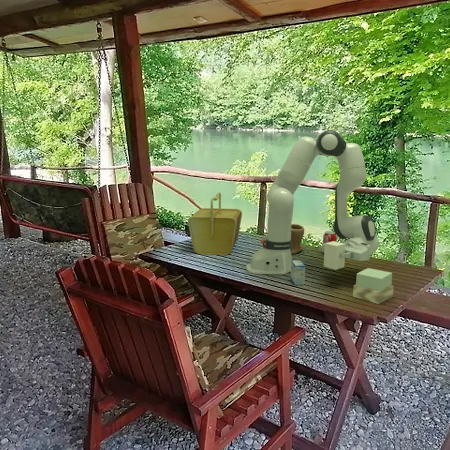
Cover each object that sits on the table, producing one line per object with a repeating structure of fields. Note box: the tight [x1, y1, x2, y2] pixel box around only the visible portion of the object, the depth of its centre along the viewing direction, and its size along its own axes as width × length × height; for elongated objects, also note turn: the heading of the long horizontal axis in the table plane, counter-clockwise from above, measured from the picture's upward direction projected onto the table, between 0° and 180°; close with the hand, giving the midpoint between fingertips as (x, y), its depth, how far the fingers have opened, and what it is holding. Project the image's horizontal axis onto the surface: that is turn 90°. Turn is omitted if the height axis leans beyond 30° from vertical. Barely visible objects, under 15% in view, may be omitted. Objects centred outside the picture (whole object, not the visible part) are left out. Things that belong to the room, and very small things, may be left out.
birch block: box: [352, 284, 395, 305], centre depth 183 cm, size 11×11×5 cm
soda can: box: [322, 230, 338, 255], centre depth 244 cm, size 7×7×12 cm
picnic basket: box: [187, 192, 243, 256], centre depth 255 cm, size 29×26×30 cm
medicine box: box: [290, 260, 306, 286], centre depth 200 cm, size 8×4×9 cm, turn 5°
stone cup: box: [291, 223, 305, 255], centre depth 250 cm, size 15×12×15 cm
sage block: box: [355, 267, 393, 292], centre depth 182 cm, size 10×10×5 cm
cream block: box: [323, 241, 346, 271], centre depth 194 cm, size 6×6×10 cm
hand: (333, 254), depth 194 cm, fingers closed on cream block, 6 cm apart
